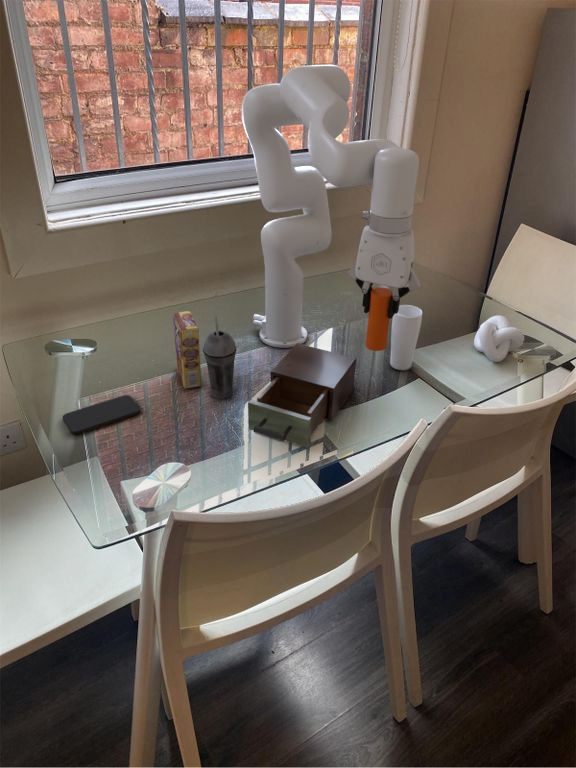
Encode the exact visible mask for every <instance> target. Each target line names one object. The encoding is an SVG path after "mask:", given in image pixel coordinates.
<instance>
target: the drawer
mask: <svg viewBox="0 0 576 768" xmlns="http://www.w3.org/2000/svg"><path fill="white" fill-rule="evenodd" d="M329 394H330V391H329V390H326V389H322V388H318V387H315V386H311V385H307V384H304V383H300V382H297V381H293V380H289V379H286V378H282V377H278V376H277V377H276V378H275V379H274V380H273V381H272V382H271V381H270V383H269V384H268V385H267V386H266V387H265V388H264V390H263V391H261V393H260V394H259V395H258V396H257V397H256V400H254V399H250V400H249V401H247V409H248V410H247V412H248V413H247V415H248V416H247V417H248V419H247V421H248V430H250V431H253V432H254V433H255V434H259V435H261V436H262V435H263V436H266V437H269V438H272V439H275V440H278V441H281V442H288V443H290V444H291V443H292V444H294V445H297V446H301V447H304V448H307V449H308V448H309V447H310V445H311V437H312V436H313V435H314V433H315V432H316V431H317V429H318V428H319V426H320V425H321V424H322V422H323V421H324V418H325V416H326V415H327V413H328V409H329Z"/></svg>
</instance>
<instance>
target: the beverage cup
mask: <svg viewBox="0 0 576 768" xmlns="http://www.w3.org/2000/svg"><path fill="white" fill-rule="evenodd" d="M214 324H215V325H214V326H215V331H213V332H211V333H210V334H209V335H208V336H206V339H205V341H204V342H203V348H202V352H203V356H204V359H205V361H206V367H207V374H208V380H209V386H210V391H211V395H212V396H213V397H214V398H216V399H219V400H224V399H228V398H230V397H231V396H232V394H233V388H234V387H233V386H234V371H235V358H236V354H237V350H238V349H237V346H236V341H235V339H234V338H233V336H231V334H229V333H228V332H226V331H223V330H219V324H218V317H217V315H216V316H214Z"/></svg>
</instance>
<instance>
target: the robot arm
mask: <svg viewBox="0 0 576 768" xmlns="http://www.w3.org/2000/svg"><path fill="white" fill-rule="evenodd" d="M351 88H352V87H351V82H350V78H349V76H348V74H347V72H346V71H345V70H344V69H343V68H342V67H340V66H338V65H335V64H315V65H300V66H295V67H293V68H291V69H289V70H288V71H287V72H286V73H285V74H284V75H283V76H282V78H281V80H280V83H270V84H269V83H268V84H262V85H258V86H255V87H253V88H251V89H250V90H248V91H247V92H246V93H245V95H244V96H243V99H242V103H241V105H242V106H241V119H242V124H243V128H244V131H245V135H246V136H247V139H248V141H249V144H250V147H251V149H252V153H253V158H254V166H255V171H256V178H257V183H258V184H257V185H258V190H259V195H260V201H261V204H262V206H263V208H264V209H265V210H266V211H267V212H270V213H283V212H289V211H290V212H291V211H296V210H302V212H303V214H298V215H291V216H284V217H279V218H275V219H273V220H272V219H271V220H270V221H268V222H266V224H265V225H264V226H263V227H262V229H261V231H260V241H261V243H260V244H261V248H262V253H263V261H264V287H265V288H264V298H265V299H264V300H265V301H264V302H265V303H264V304H265V305H264V306H265V310H264V311H265V312H264V313H265V315H261V314H257V313H254V315H253V317H252V325H253V326H257V327H260V330H259V339H260V340H261V341H262V342H263V343H264V344H265V345H268V346H270V347H273V348H277V349H279V348H281V349H288V348H290V349H291V348H293V347H294V346H295V345H296V344H297V343H298V344H302V345H303V344H304V343H305V342H306V341H307V339H308V331H307V329H306V328H305V327H304V326H303V301H304V300H303V299H304V298H303V297H304V272H303V270H302V268H301V267H300V265H299V264H298V263H297V261H296V258H298V257H302V256H307V255H312V254H316V253H320V252H323V251H325V250H327V249H328V248H329V247H330V244H331V242H332V225H331V223H332V221H331V216H330V207H329V200H328V191H327V186H326V182H325V180H326V181H327V183H329V184H330V185H332V186H334V187H337V188H344V189H345V188H352V187H357V186H363V185H372V186H371V197H370V208H369V210H368V211H362V215H361V219H363V220H366V221H367V225H366V226H364V227H363V230H362V233H361V237H360V242H359V246H358V251H357V256H356V262H355V264H354V265H353V266H352V267H351V268H350V269H349V271H348V272H347V274H348V276H349V277H350V278H351V279H352V280H353V281H355V283H356V285H357V286H358V287H359V288H360V291H361V293H362V303H361V304H362V305H361V306H362V307H363V313H364V314H369V307H370V297H371V290H372V289H373V285H374V284H375V285H379V286H385V287H390V288H391V291H392V295H393V296H392V298H391V299H390V301H389V310H388V318H389V319H390V320H392V318H393V316H394V314H397V313H398V310H399V306H400V302H401V299H402V297H405V296H406V295H408V293H411V292H414V291H416V290H419V289H420V287H421V282H420V280H419V278H418V276H417V274H416V272H415V270H414V262H415V233H414V230H413V229H412V228H411V226H412V219H413V213H414V205H415V198H416V197H415V196H416V191H417V190H416V189H417V182H418V175H419V166H420V157H419V155H418V153H416V152H415V151H414V150H411V149H409V148H403V147H400V146H399V145H398V144H397V143H395V142H393V141H392V140H390V139H387V138H375V139H374V138H373V139H364V140H355V141H346V142H340V141H338V140H337V138H338V137H339V136H340V135H341V134H342V133H343V131H344V130H345V129H346V127H347V125H348V123H349V120H350V109H349V105H348V104H347V103H348V101H349V100H350V97H351V91H352V90H351ZM298 125H303V127H305V128H306V129H307V130H308V134H307V149H308V154H309V157H310V160H311V163H312V165H313V166H310V165H303V166H296V167H295V166H294V165H293V159H292V153H291V147H290V145H289V143H288V141H287V140H286V139H285V137H284V136H283V135H282V133H281V132H280V131H279V130H278V129H277V127H287V126H288V127H289V126H298ZM408 282H409V283H408Z"/></svg>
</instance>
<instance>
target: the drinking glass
mask: <svg viewBox="0 0 576 768" xmlns="http://www.w3.org/2000/svg"><path fill="white" fill-rule="evenodd" d="M422 323H423V310H422V309H421V308H419V307H418V306H416V305H411V304H399V310H398V313H397V314H394V316H393V317H392V318H391V332H390V333H391V335H390V359H389V365H390V366H391V368H393V369H394V370H397V371H408V370H410V369H411V368H412V367H413V361H414V355H415V351H416V348H417V344H418V340H419V336H420V333H421V328H422Z"/></svg>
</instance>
